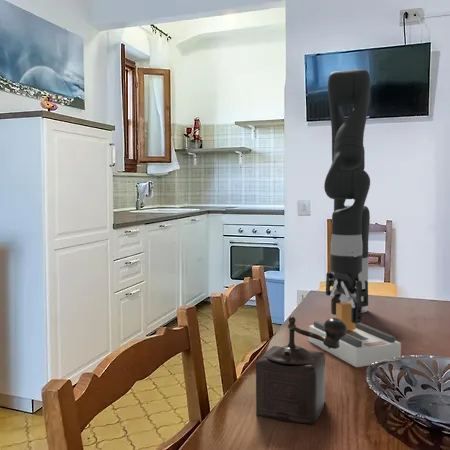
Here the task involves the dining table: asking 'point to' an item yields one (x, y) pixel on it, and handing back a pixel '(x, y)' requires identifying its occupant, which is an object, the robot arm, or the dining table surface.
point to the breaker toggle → (345, 314)
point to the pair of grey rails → (364, 328)
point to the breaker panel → (363, 355)
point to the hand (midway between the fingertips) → (345, 318)
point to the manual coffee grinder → (295, 376)
